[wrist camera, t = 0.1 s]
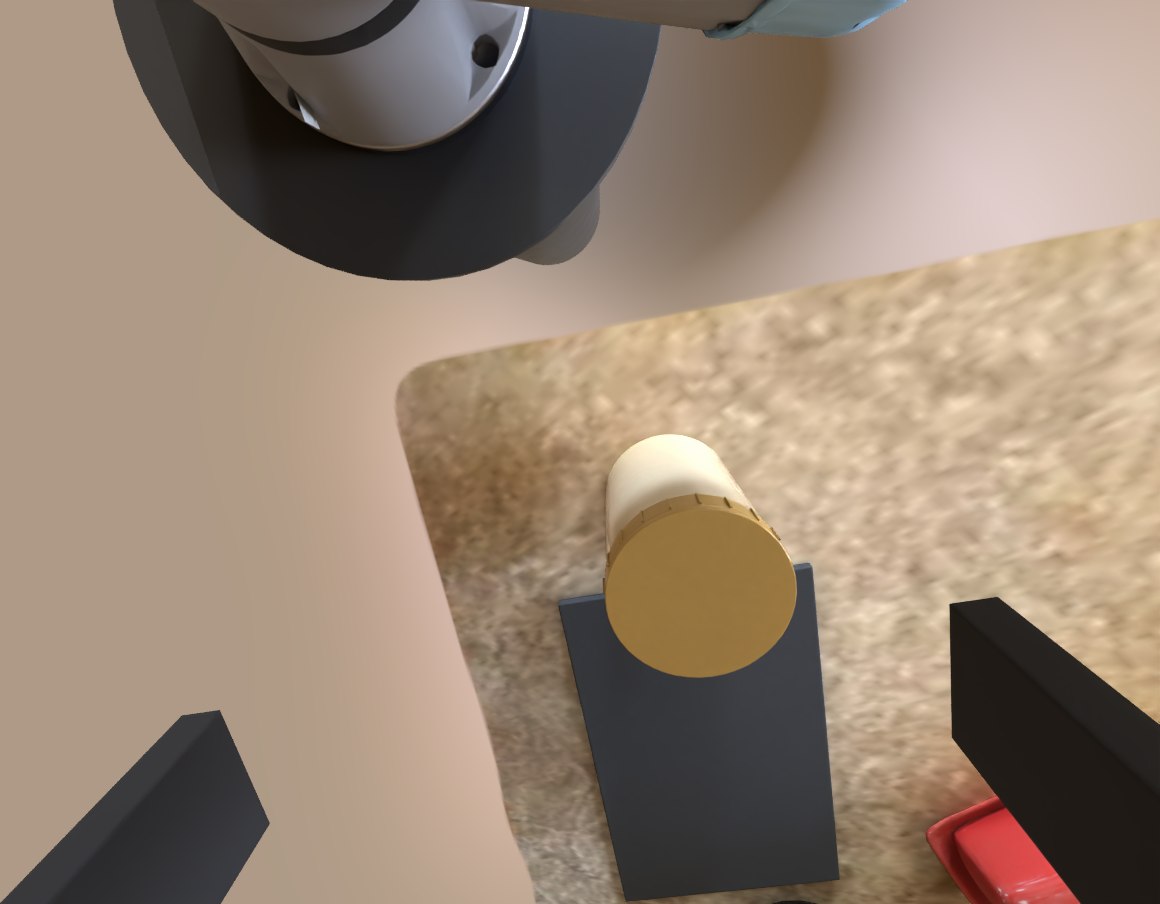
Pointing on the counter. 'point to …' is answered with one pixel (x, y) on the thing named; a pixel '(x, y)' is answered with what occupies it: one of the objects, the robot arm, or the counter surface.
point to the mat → (709, 760)
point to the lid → (698, 586)
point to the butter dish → (995, 858)
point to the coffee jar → (793, 902)
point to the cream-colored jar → (664, 478)
